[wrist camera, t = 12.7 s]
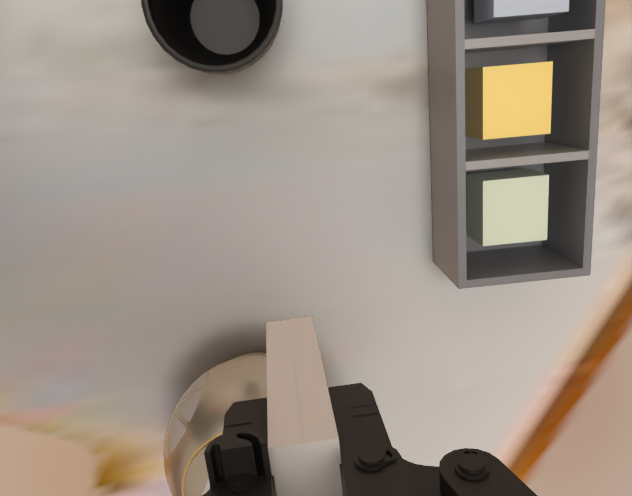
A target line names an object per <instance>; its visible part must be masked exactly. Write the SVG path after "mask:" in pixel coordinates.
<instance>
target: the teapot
mask: <svg viewBox="0 0 632 496" xmlns="http://www.w3.org/2000/svg"><path fill="white" fill-rule="evenodd" d="M260 398H267V357H266V353H263V352H255V353H248V354H244V355H241V356H238V357H236V358H234V359H231V360H228V361H225V362H223V363H221V364H219V365H217V366H215V367H213V368H211V369H210V370H208V371H207V372H205V373H204V374H203V375H201V376H200V377H199V378H198V379H197V380H196V381H195V382H194V383H193V384H192V385H191V386H190V387H189V388H188V389H187V390H186V392H185V393H184V394H183V396H182V397H181V399H180V400H179V402H178V403H177V405H176V407H175V409H174V411H173V413H172V416H171V418H170V421H169V424H168V427H167V431H166V436H165V442H164V467H165V473H166V478H167V482H168V485H169V488H170V491H171V493H172V495H173V496H202V495H204V494H205V493H206V492H207V491H208V490H209V489H210V482H209V477H208V472H207V466H206V461H205V456H204V451H205V449H206V447H207V445H208V444H209V443H210V442H211V441H212V440H213V439H214V438H216V437H218V436H220V435H222V434H223V428H224V417H225V413H226V412H227V410H228V409H229V408H230V406H231V405H232V404H233V402H238V401H245V400H252V399H260Z"/></svg>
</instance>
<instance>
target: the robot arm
mask: <svg viewBox="0 0 632 496" xmlns="http://www.w3.org/2000/svg"><path fill="white" fill-rule="evenodd" d="M266 357H267V398H260V399H252V400H245V401H238V402H233V404H232V405H231V406H230V408H229V409H228V410H227V412H226V413H225V417H224V428H223V434H222V435H220V436H218V437H216V438H214V439H213V440H212V441H211V442H210V443H209V444H208V445H207V447H206V449H205V451H204V456H205V461H206V466H207V472H208V477H209V482H210V489H209V490H208V491H207V492H206V493H205V494H204V495H202V496H537V495H536V494H535V493H534V492H533V491H532V490H531V489H530V488H528V487H527V486H526V485H525V484H524V483H523V482H522V481H521V480H520V479H519V478H518V477H517V476H516V475H515V474H514V473H513V472H511V471H510V470H509V469H508V468H507V467H506V466H505V465H504V464H503V463H502V462H501V461H500V460H499V459H497V458H496V457H494V456H493V455H491V454H490V453H488V452H484V451H481V450H478V449H467V448H465V449H459V450H454V451H452V452H450V453H448V454H446V455H445V456H444V457H443V458H442V460H441V461H440V466H439V467H434V466H423V465H417V464H414V463H411V462H408V461H406V460H404V459H402V457H401V455H400V454H399V453H398V451H397V450H396V449H394V448H393V447H392V446H391V443H390V440H389V437H388V434H387V432H386V429H385V426H384V423H383V421H382V418H381V415H380V413H379V409H378V407H377V405H376V401H375V398H374V396H373V393H372V391H371V390H369V389H368V388H367V387H366V386H364V385H363V384H362V383H357V384H350V385H343V386H336V387H329V388H328V386H327V382H326V377H325V373H324V368H323V363H322V359H321V354H320V350H319V345H318V340H317V336H316V331H315V327H314V322H313V317H312V316H310V317H302V318H295V319H287V320H280V321H272V322H266Z"/></svg>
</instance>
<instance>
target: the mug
mask: <svg viewBox="0 0 632 496" xmlns="http://www.w3.org/2000/svg"><path fill="white" fill-rule="evenodd" d="M141 3H142V8H143V12H144V16H145V20H146V23H147V25H148V27H149V29H150V31H151V33H152V35H153V37H154V38H155V39H156V41H157V42H158V43H159V44H160V46H161V47H162V48H163V49H164V51H166V52H167V53H168V54H169V55H170V56H172V57H173V58H174V59H175V60H176V61H178V62H180V63H182V64H184V65H186V66H188V67H190V68H192V69H196V70H199V71H203V72H207V73H212V74H228V73H233V72H237V71H241V70H243V69H245V68H247V67H249V66H251V65H253V64H254V63H255V62H257V61H258V60H259V59H260V58H262V57H263V56H264V54H265V53H266V52H267V51H268V49H269V48H270V47H271V45H272V44H273V41H274V39H275V37H276V35H277V33H278V30H279V26H280V21H281V17H282V3H283V0H141Z"/></svg>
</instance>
